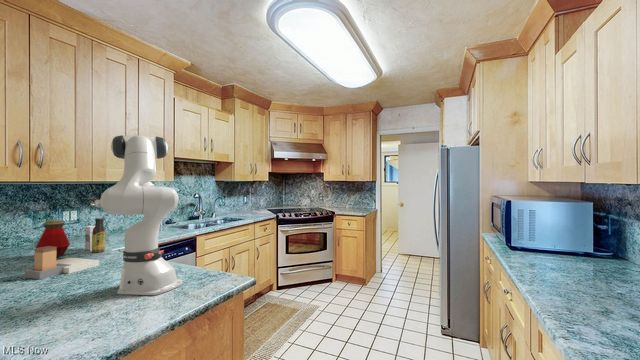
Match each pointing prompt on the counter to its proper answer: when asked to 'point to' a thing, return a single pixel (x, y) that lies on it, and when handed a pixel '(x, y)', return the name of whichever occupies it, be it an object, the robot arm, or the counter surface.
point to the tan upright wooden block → (45, 258)
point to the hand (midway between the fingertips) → (98, 204)
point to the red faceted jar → (54, 237)
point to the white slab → (63, 267)
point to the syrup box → (88, 237)
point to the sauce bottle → (98, 236)
